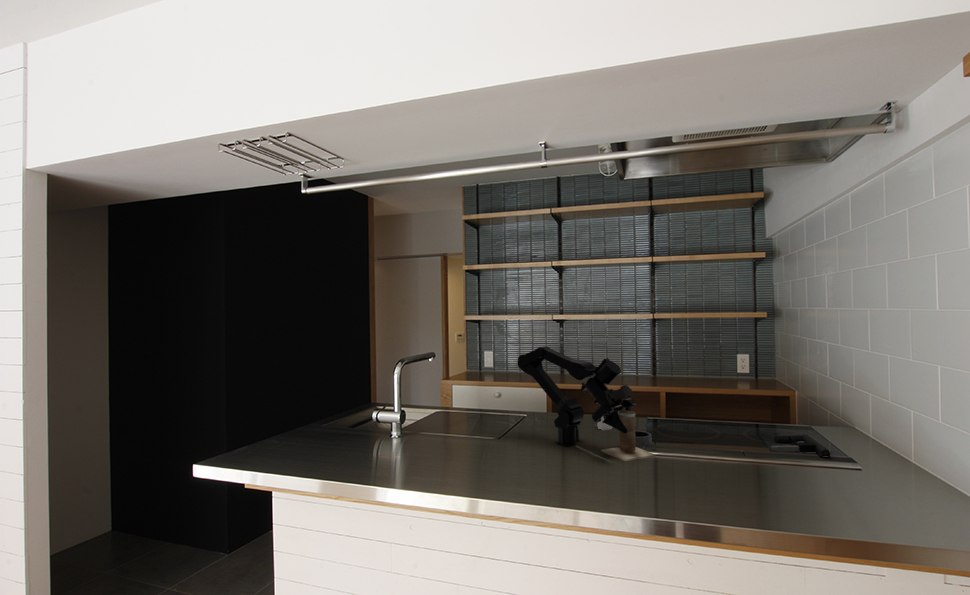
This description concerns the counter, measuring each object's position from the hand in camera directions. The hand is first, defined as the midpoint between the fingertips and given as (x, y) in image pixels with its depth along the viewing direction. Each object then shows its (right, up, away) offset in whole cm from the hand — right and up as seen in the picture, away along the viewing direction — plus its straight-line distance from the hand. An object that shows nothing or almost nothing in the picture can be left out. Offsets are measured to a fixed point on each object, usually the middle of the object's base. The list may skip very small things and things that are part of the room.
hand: (630, 431), depth 168 cm
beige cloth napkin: (-1, -8, +1) cm, 8 cm away
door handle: (+56, -8, +6) cm, 57 cm away
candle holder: (+6, -8, +13) cm, 17 cm away
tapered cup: (-1, -6, +1) cm, 6 cm away
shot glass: (0, -9, +38) cm, 39 cm away
